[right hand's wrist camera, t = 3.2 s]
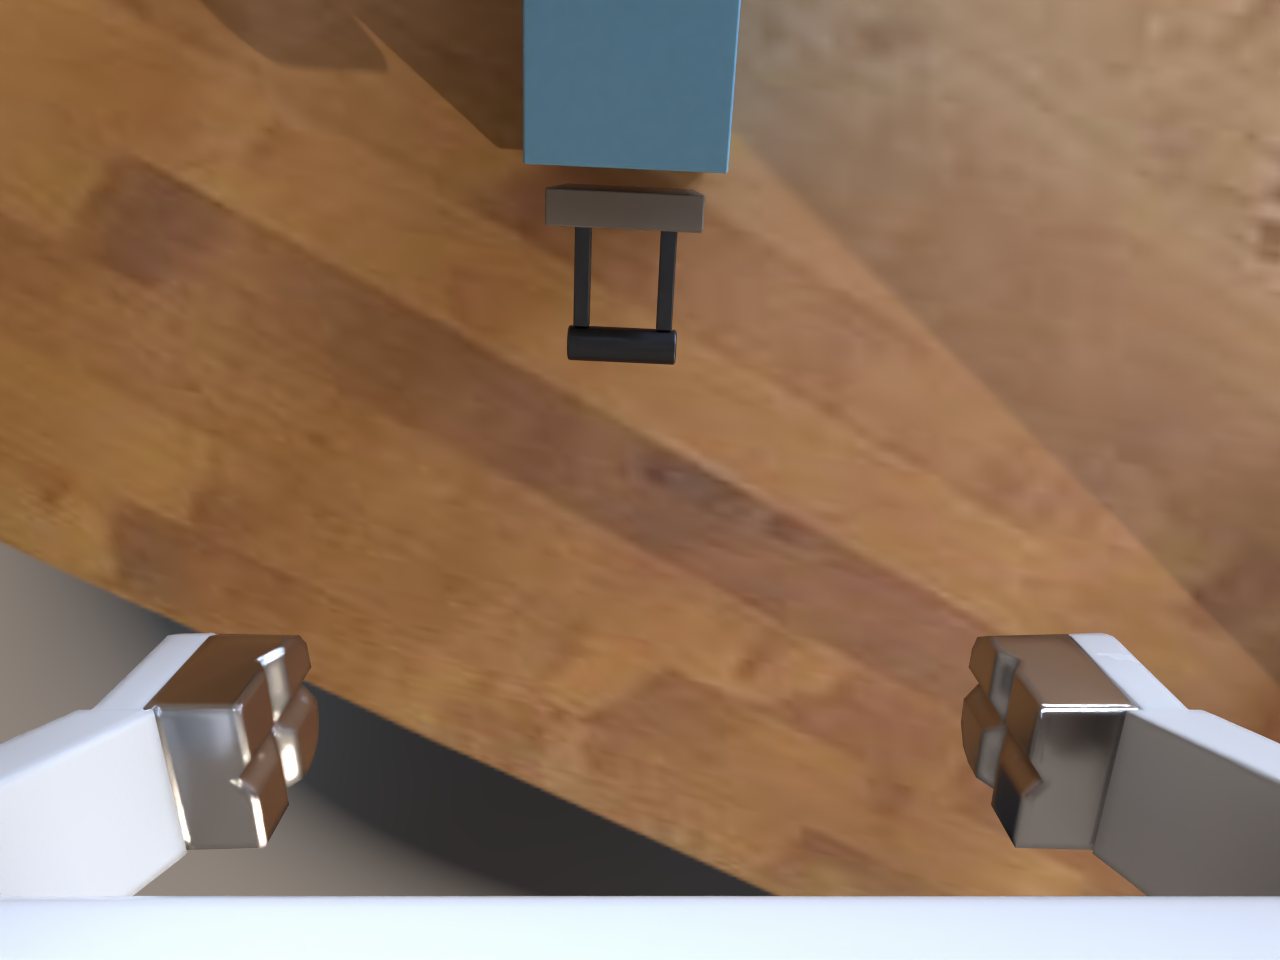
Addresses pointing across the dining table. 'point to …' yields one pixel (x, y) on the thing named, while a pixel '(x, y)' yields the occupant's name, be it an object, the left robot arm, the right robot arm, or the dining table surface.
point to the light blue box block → (629, 83)
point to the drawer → (634, 213)
